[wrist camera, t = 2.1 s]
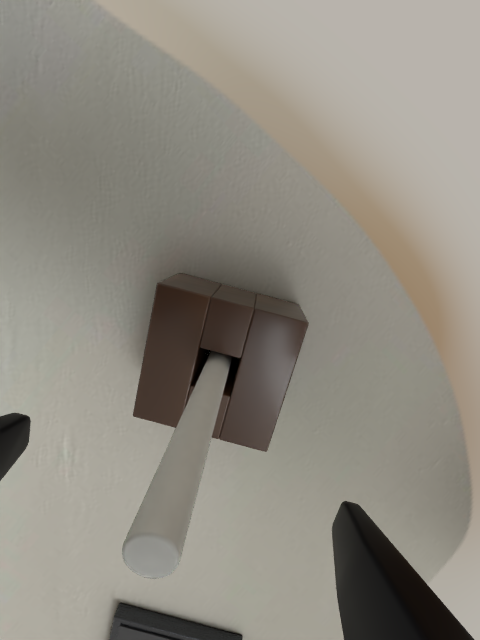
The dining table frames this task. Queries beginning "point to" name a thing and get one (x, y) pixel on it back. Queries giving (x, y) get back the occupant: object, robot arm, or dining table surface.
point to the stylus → (177, 479)
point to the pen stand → (223, 337)
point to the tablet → (160, 627)
